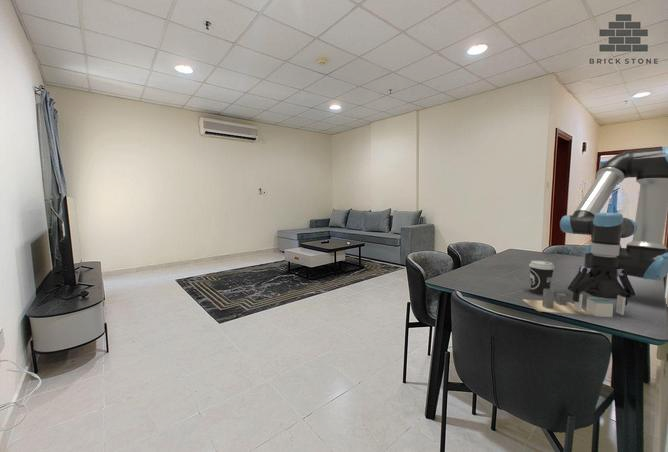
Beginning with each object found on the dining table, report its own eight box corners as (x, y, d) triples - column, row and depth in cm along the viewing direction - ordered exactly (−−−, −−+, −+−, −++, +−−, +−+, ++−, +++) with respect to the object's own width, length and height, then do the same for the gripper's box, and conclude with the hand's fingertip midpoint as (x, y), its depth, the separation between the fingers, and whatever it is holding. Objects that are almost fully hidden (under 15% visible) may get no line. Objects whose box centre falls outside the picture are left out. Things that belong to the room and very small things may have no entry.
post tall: (549, 305, 115) (550, 288, 114) (553, 308, 112) (554, 290, 112) (542, 305, 115) (543, 288, 115) (545, 307, 113) (547, 290, 112)
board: (570, 305, 119) (570, 302, 119) (591, 317, 106) (592, 314, 106) (522, 302, 122) (522, 299, 122) (537, 314, 110) (537, 311, 110)
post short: (562, 303, 118) (563, 293, 118) (566, 305, 116) (567, 295, 115) (555, 302, 119) (556, 293, 118) (559, 305, 116) (560, 295, 116)
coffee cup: (545, 300, 125) (547, 265, 124) (522, 293, 134) (524, 261, 132) (557, 296, 129) (559, 263, 128) (534, 290, 138) (536, 259, 136)
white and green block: (601, 314, 109) (603, 297, 109) (611, 320, 104) (613, 302, 104) (585, 313, 110) (587, 296, 110) (595, 319, 105) (596, 301, 105)
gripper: (635, 255, 107) (629, 311, 108) (559, 251, 111) (554, 305, 113) (654, 259, 99) (646, 319, 101) (571, 255, 104) (566, 312, 106)
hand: (598, 312), depth 107 cm, fingers open, 13 cm apart
